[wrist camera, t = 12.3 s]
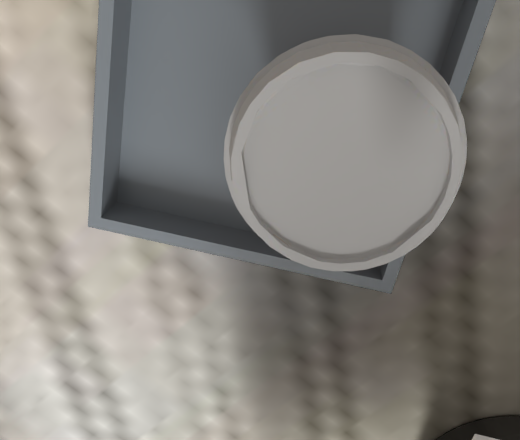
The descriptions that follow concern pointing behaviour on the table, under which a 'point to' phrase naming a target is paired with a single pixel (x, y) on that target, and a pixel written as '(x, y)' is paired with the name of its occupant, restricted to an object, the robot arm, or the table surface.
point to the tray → (228, 106)
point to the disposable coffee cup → (345, 152)
